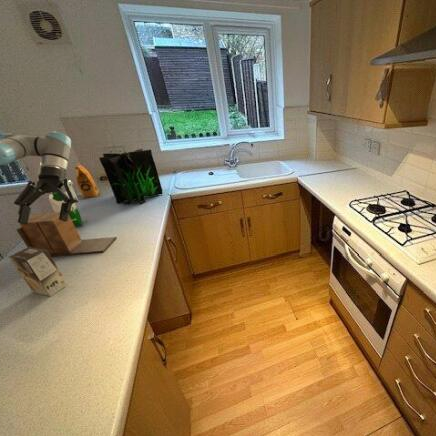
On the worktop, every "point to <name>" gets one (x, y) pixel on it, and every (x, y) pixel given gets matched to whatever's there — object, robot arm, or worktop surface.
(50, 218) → the rack
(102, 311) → the worktop surface
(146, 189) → the decorative plant
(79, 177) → the coffee package
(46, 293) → the coffee box
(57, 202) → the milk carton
